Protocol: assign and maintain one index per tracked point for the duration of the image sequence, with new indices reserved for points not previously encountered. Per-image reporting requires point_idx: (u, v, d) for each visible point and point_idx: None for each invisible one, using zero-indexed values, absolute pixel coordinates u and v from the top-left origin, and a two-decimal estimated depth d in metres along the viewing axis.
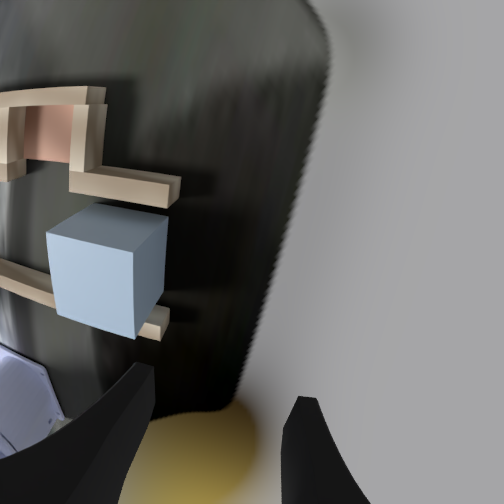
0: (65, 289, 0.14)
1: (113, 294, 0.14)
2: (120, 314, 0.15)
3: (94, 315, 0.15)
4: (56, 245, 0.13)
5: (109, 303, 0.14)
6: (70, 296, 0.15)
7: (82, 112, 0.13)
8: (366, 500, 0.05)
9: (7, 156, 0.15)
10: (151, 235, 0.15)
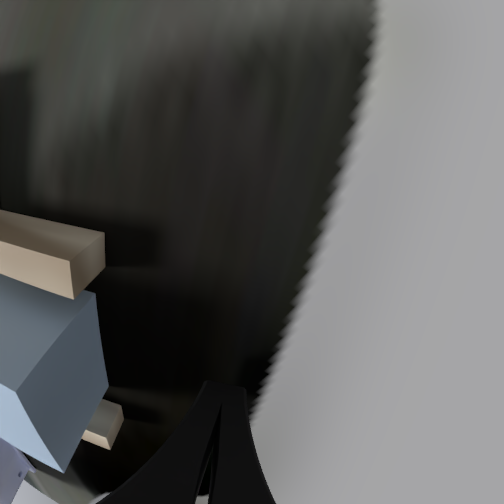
0: None
1: (17, 427, 0.07)
2: (35, 447, 0.07)
3: (7, 436, 0.07)
4: None
5: (17, 433, 0.07)
6: None
7: None
8: (269, 499, 0.05)
9: None
10: (58, 341, 0.08)
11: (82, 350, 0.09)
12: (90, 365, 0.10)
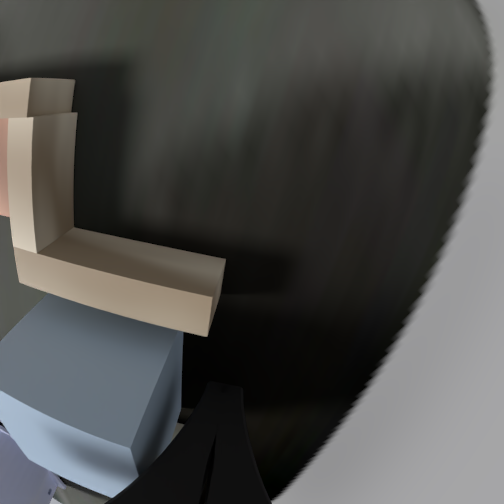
0: (29, 445, 0.07)
1: (107, 475, 0.06)
2: None
3: (81, 479, 0.07)
4: None
5: (102, 479, 0.07)
6: (39, 453, 0.07)
7: (22, 133, 0.06)
8: (265, 498, 0.05)
9: None
10: (159, 379, 0.08)
11: (171, 381, 0.09)
12: (174, 394, 0.10)
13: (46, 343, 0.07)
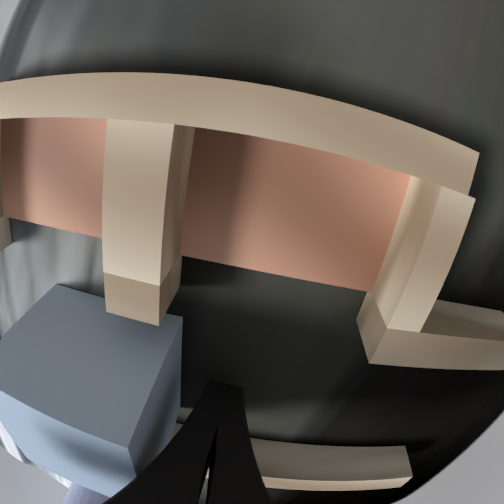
0: (28, 444, 0.07)
1: (105, 474, 0.06)
2: None
3: (80, 479, 0.07)
4: None
5: (100, 478, 0.07)
6: (38, 452, 0.07)
7: (457, 211, 0.06)
8: (266, 498, 0.05)
9: (161, 267, 0.07)
10: (157, 379, 0.08)
11: (170, 381, 0.09)
12: (172, 394, 0.10)
13: (45, 342, 0.07)
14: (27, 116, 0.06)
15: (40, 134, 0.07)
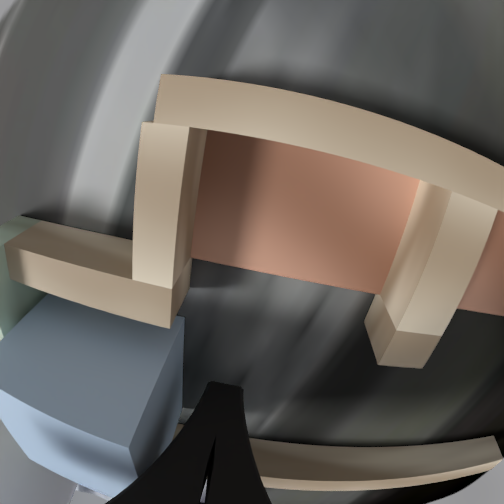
0: (29, 444, 0.07)
1: (106, 474, 0.06)
2: None
3: (81, 479, 0.07)
4: None
5: (101, 478, 0.07)
6: (39, 452, 0.07)
7: None
8: (265, 498, 0.05)
9: (448, 320, 0.07)
10: (158, 379, 0.08)
11: (171, 381, 0.09)
12: (174, 394, 0.10)
13: (46, 342, 0.07)
14: (349, 157, 0.06)
15: (287, 165, 0.07)
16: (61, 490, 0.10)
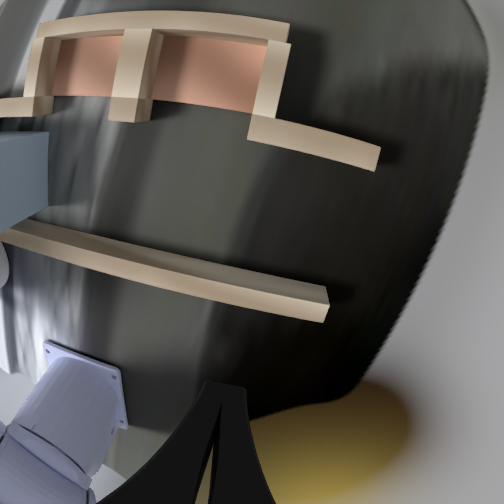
0: None
1: None
2: None
3: None
4: None
5: None
6: None
7: (280, 50, 0.12)
8: (269, 499, 0.05)
9: (139, 89, 0.13)
10: (22, 139, 0.14)
11: (34, 159, 0.15)
12: (37, 174, 0.16)
13: None
14: (85, 31, 0.11)
15: (84, 47, 0.13)
16: None
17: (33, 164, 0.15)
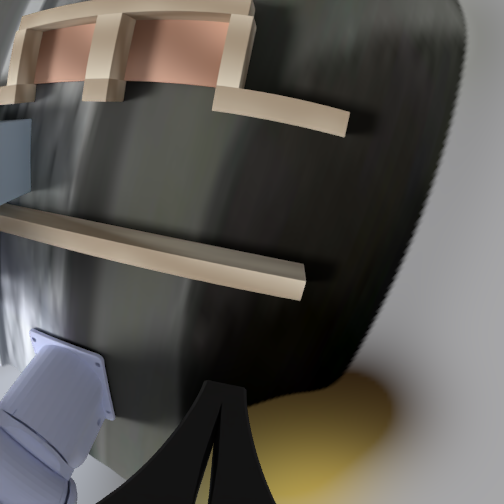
0: None
1: None
2: None
3: None
4: None
5: None
6: None
7: (243, 23, 0.11)
8: (269, 499, 0.05)
9: (110, 69, 0.12)
10: (5, 125, 0.13)
11: (17, 144, 0.15)
12: (20, 159, 0.16)
13: None
14: (62, 20, 0.11)
15: (64, 36, 0.13)
16: None
17: (15, 149, 0.15)
